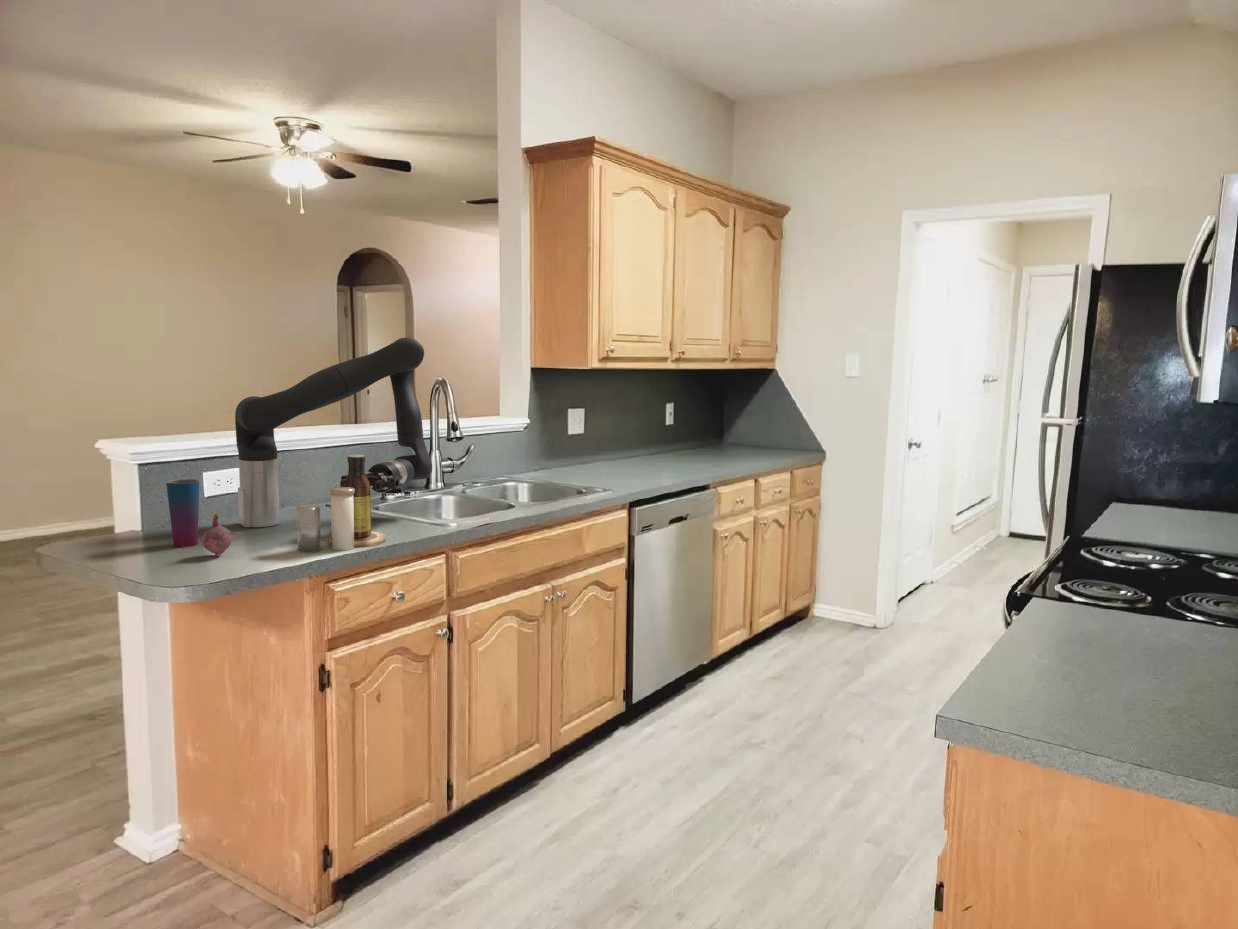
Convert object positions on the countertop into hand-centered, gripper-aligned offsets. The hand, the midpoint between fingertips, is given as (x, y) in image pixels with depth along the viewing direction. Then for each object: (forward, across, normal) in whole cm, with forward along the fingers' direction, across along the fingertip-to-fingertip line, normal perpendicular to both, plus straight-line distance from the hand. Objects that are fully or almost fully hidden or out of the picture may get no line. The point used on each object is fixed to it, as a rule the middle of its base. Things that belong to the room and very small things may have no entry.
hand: (358, 485), depth 202 cm
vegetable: (+22, -22, +14) cm, 35 cm away
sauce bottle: (+1, 0, +12) cm, 13 cm away
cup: (+15, -36, +14) cm, 41 cm away
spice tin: (+12, -6, +13) cm, 19 cm away
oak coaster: (+1, 0, +13) cm, 13 cm away
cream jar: (+9, 0, +13) cm, 16 cm away
